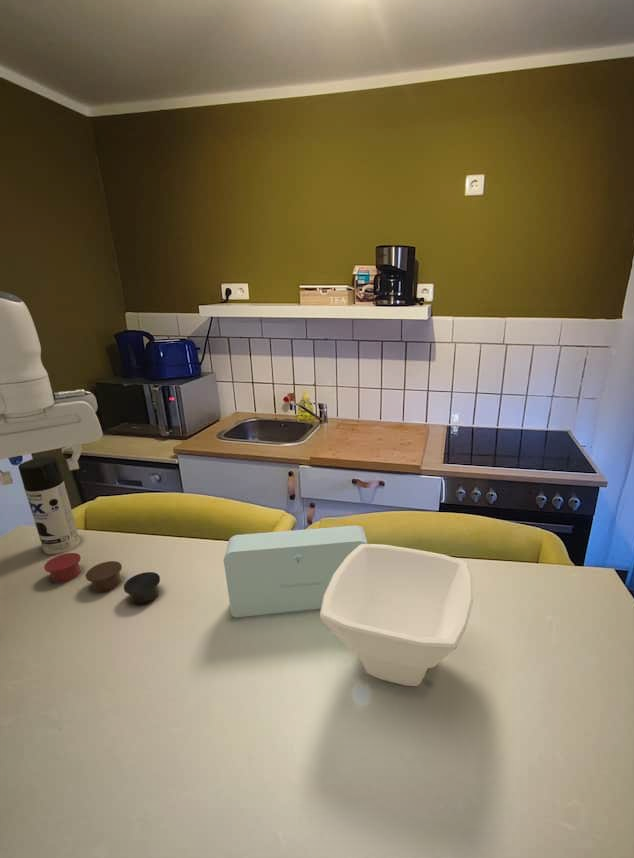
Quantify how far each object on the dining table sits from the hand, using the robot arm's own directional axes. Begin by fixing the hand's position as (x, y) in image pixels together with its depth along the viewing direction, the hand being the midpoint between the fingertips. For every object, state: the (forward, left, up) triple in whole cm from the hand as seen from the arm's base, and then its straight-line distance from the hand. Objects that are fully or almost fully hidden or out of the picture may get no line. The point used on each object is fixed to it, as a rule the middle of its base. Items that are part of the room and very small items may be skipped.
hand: (41, 475), depth 73 cm
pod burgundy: (-1, +3, -23) cm, 23 cm away
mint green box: (+32, -31, -23) cm, 50 cm away
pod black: (+10, -13, -23) cm, 28 cm away
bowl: (+37, -51, -23) cm, 67 cm away
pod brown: (+5, -5, -23) cm, 24 cm away
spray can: (-1, +16, -23) cm, 28 cm away
